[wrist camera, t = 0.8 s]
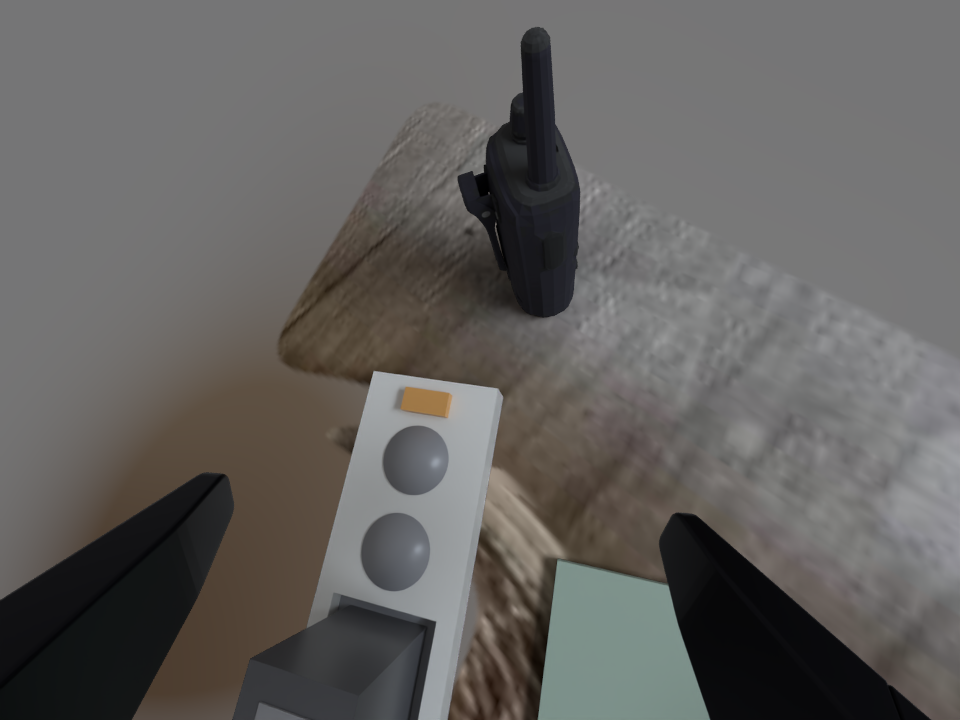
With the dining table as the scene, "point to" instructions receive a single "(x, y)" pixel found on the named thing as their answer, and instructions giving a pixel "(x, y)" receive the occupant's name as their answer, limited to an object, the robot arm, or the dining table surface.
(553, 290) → the two-way radio
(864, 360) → the dining table surface
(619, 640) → the mat
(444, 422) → the power strip
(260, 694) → the block
